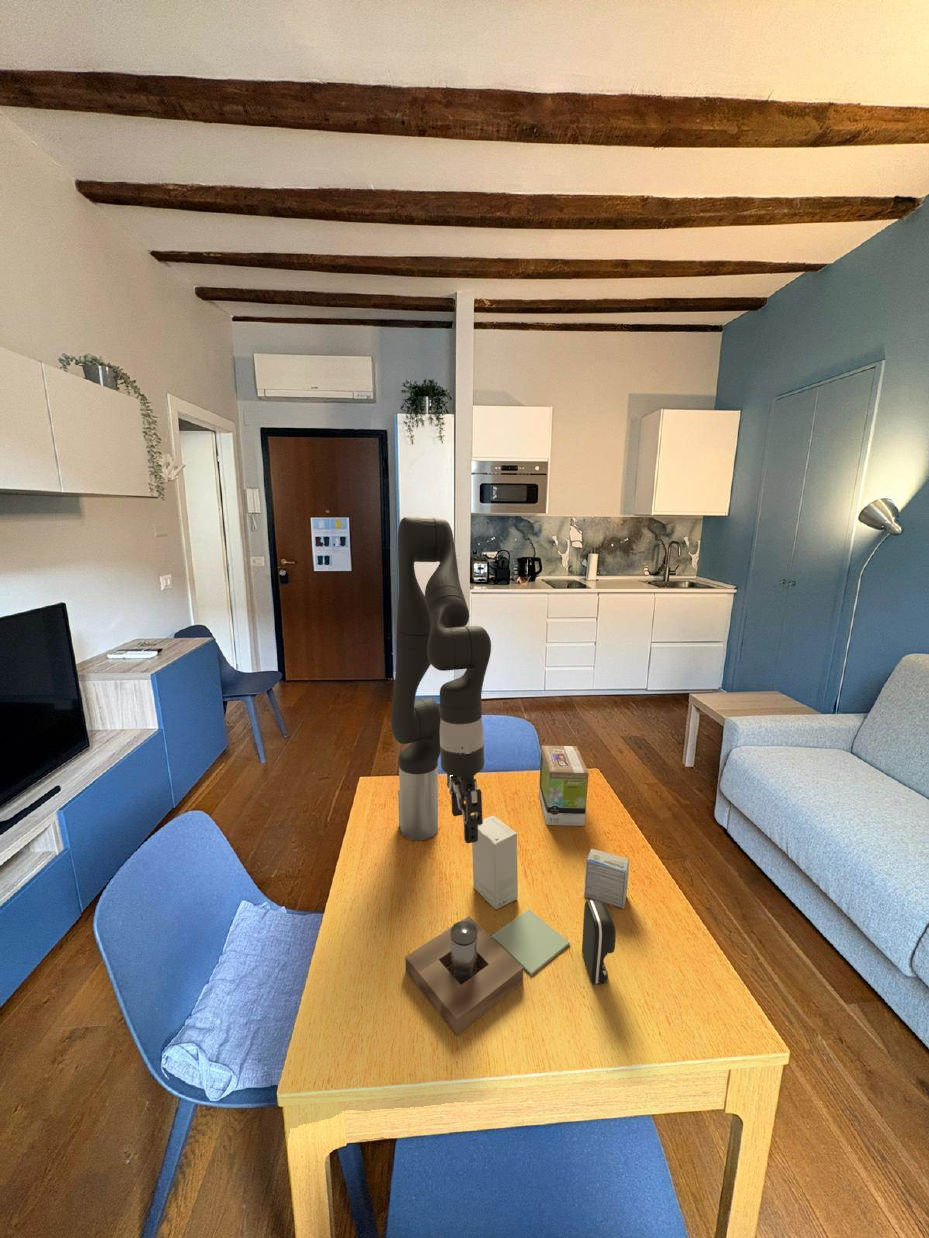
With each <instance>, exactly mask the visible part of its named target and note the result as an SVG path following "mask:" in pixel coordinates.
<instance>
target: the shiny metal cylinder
mask: <svg viewBox="0 0 929 1238" xmlns="http://www.w3.org/2000/svg"><path fill="white" fill-rule="evenodd" d="M451 927H452V928H451ZM451 927H450V928H451V966H450V973H451V974H452V975H453V976H454V978H455V979H456V980H457V981H458V982H459V983H460V984H461V985H462V984H463V983H464V982H466V981H467V980H469V979H470V978H471V977H473V976H474V975H475V974H477V973H478V967H477V928H476V926H475V925H474V924H473V923H471V922H468V921H462V920H460V921H457V922H455V923H454V924H453V925H452V926H451Z"/></svg>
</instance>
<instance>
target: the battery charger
mask: <svg viewBox="0 0 929 1238" xmlns="http://www.w3.org/2000/svg"><path fill="white" fill-rule="evenodd" d="M582 924H583V927H582V943H581V954H582V956H583V960H584V963H585V967H586V970H587V973H588V976H589V979H590V983H592V984H596V985H597V984H602V983H606V982H608V980H609V973H608V970H607V967H606V964H605V962H604V960H605V958H606V957H607V956H608V954H613V953H614V952H615V949H616V937H617V933H616V931H617V929H616V925H615V922H614V919H613V917H612V914H611V912H610V910H609V908H608V904H606V903H605V902H603V901H596V900H593V899H589V900H586V901H585V903H584V911H583V923H582Z"/></svg>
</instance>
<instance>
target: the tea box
mask: <svg viewBox="0 0 929 1238" xmlns="http://www.w3.org/2000/svg"><path fill="white" fill-rule="evenodd" d="M539 768H540V769H539V785H538V787H539V788H538V794H539V798H540V802H541V807H542V811H543V815H544V816H543V817H544V820H545V823H546V825H547V826H565V827H566V826H569V827H570V826H571V827H573V826H575V827H578V826H580V827H584V826H585V824H586V812H587V811H586V810H587V798H588V787H589V786H588V785H589V770H588V768H587V766H586V764H585V761H584V760H583V757H582V755H581V753H580V751H579V748H578V746H575V745H574V746H573V745H541V751H540V767H539Z"/></svg>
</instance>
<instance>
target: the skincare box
mask: <svg viewBox="0 0 929 1238" xmlns="http://www.w3.org/2000/svg"><path fill="white" fill-rule="evenodd" d="M482 819H483V824H481V825H478V841H477V842H473V843H471V845H472V878H473V879H472V881H473V883H472V884H473V886H472V887H473V888H474V889H475V890H476V891H477V892H478V893H479V894H480V895H481V896H482V897H483V898H484V899H485V900H486V901H487V903H489V904H490V905H491V906H492V907H493V909H494V910H499V909H500V908H502V907H504V906H506V905H508V904H511V903H512V902H514V901H516V900H518V897H519V885H518V882H519V881H518V837H517V836H518V833H517V832H516V831H515V830H513V829H512V828H510V826H508V824H506V823H504V822H503V821H502V820H500V819H499V818H498V817H496V816H495V815H490V816H488V817H485V818H482Z"/></svg>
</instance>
